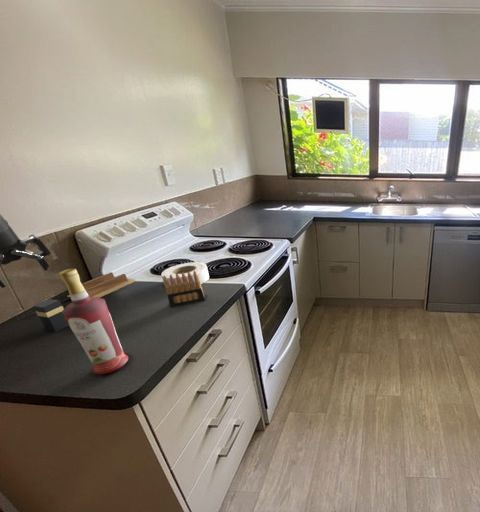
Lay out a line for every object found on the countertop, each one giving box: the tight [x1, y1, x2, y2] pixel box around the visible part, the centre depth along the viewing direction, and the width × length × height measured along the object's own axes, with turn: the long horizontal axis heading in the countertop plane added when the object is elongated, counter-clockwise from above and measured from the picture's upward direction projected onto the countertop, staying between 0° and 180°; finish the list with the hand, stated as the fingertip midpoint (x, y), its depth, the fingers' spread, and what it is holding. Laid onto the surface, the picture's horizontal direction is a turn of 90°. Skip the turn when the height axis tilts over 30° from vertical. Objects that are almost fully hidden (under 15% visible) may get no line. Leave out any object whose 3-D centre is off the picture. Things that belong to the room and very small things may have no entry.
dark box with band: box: [32, 298, 70, 333], centre depth 89 cm, size 4×4×9 cm
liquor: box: [58, 268, 129, 375], centre depth 69 cm, size 7×7×28 cm
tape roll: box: [160, 261, 210, 290], centre depth 118 cm, size 16×16×6 cm
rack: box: [66, 271, 135, 300], centre depth 112 cm, size 11×16×4 cm
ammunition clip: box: [162, 271, 206, 308], centre depth 102 cm, size 11×2×12 cm, turn 117°
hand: (24, 277), depth 80 cm, fingers open, 8 cm apart
